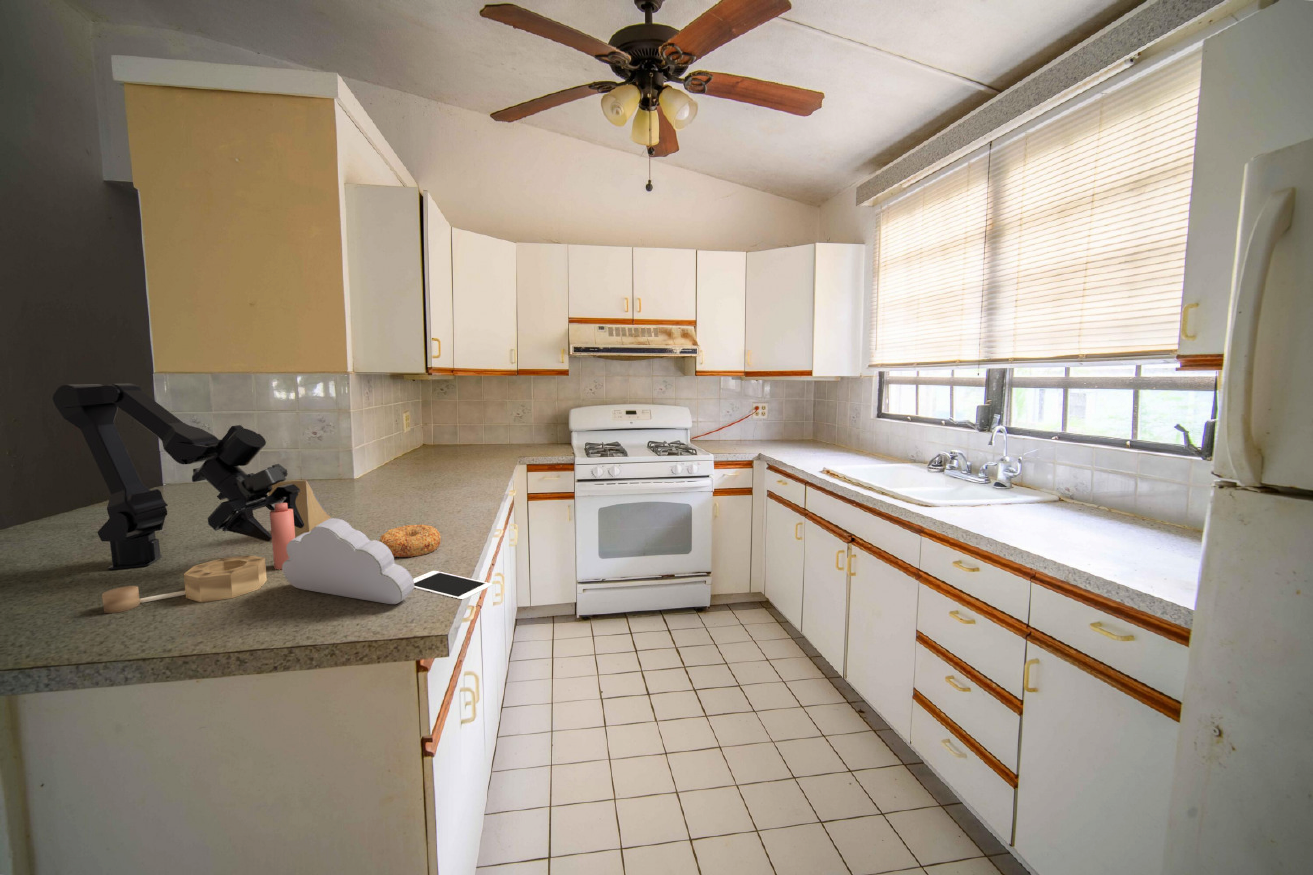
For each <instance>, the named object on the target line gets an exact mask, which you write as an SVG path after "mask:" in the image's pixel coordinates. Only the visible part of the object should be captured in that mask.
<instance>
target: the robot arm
mask: <svg viewBox="0 0 1313 875" xmlns="http://www.w3.org/2000/svg"><path fill="white" fill-rule="evenodd" d="M52 395H53V396H52V401H53V405H54V406H55V408H56V409H57V410H58V412H59V413H60V415H61V416H62V417H63V419H64V420H66V421H67V422H69V423H70V424H72V425H73V426H74V427H77V428H78V429H80V431H81V433H82V436H83V438H84V440H85V441H86V445H87V446H88V448H89V450H90V453H91V455H92V456H93V458H94V462H95V464H96V465H97V467H98V469H99V472H100V473H101V475H102V478H103V480H104V482H105V483H106V487H107V488H108V491H109V493H110V495H109V496H110V497H109V499H108V503H107V506H106V511H107V514H108V519H107V520H106V522H105V523H104V524H103V525H102V526H101V527H100V528H99V530H97V535H98V537H99V539H100V541H101V542H109V547H110V556H111V562H112V563H111V564H112V565H110V566H109V567H107V568H108V569H107V570H108V571H111V570H120V569H121V570H122V569H128V568H129V569H130V568H140V567H148V566H150V565H152V564H153V563H154V562H156V561H158V560H159V559H161V558H162V557H163V555H162V554H161V547H160V539H159V538H157V537H156V532H158V531H159V532H160V531H162V530H163V526H164V525H165V524H164V523H165V520H166V516H167V515H168V509H167V507H168V506H169V505H168V504H167V503H166V501H165V500H164V498H163V494H162V491H161V490H160V489H158V488H156V489H152V490H151V489H150V488H148V487H146V486H145V485H144V484H143V482H142V480H141V478H140V476H139V474H138V471H137V470H136V468H135V465H134V462H132V459H131V457H130V455H129V452H128V450H127V448H126V446H125V444H124V442H123V440H122V437H121V436H120V433H119V431H118V429H117V427H116V425H115V419H116V416H117V414H118V411H119V410H118V408H119V409H120V410H122V412H124V413H125V414H127V415H129V417H131V418H132V419H134V421H136V422H137V423H139V424H140V425H141V426H143V427H144V428H145V429H147V430H148V431H149V432H151V433H152V434H154V435H155V436H156V437H157V438H158V439H160V440H161V442H162V448H163V450H164V452H166V453H167V454H168V455H169V456H170V457H171V458H172V459H173V461H174V462H176V463H178V464H180V465H192V464H198V463H203V464H201V465H200V466H199V467H195V468H193V469H192V476H191V482H192V483H196V482H197V483H198V482H202V481H207V482H208V483H209V484H210V485H211V486H212V487H213V488H214V489H215V490H216V491H217V492H218V495H217V496H216V497H217V499H219V501H221V502H220V504H218V505H217V507H216V508H215V509H214V510H213V512H212V513H210V515H208V517H207V523H208V524H207V525H208V526H209V527H210V528H212V530H213V531H215V532H217V531H220V530H221V531H222V532H224V533H225V532H231V533H235V534H239V535H244V536H247V537H250V538H255V539H256V540H257V539H258V540H261V541H264V542H271V541H272V535H271V534H270V533H269V531H268V530H267V529H266V528H265V527H264V526H263V525H262V523H260V521H258V520H257V518H256V517H255V516H254V511H256V510H258V509H259V510H260V509H262V508H264V507H266V508H267V509H268V510H269V511H271V510H272V511H274V510H275V506H274V505H275V504H277V503H287V506H288V509H293V515H294V526H296V527H298V528H303V526H304V522H303V520H302V518H301V516H300V514H299V512H298V509H297V507H296V503H295V502H296V498H297V497H298V493H299V492H300V489H299V488H298V487H297V486H296V485H295V484H287V485H283V486H280V487H277V488H276V489H275V490H274V491H273V493H272V494H271V495H270V496H269V492H270V491H271V490H272V489H273V488H272V487H271V486H273V485H275V484H277V483H279V482H281V481H282V482H283V481H286V480H287V478H286V477H288V469H287V468H285V467H284V466H283V465H281V464H280V463H277V464H272V466H269V467H267V468H266V469H262V470H260V471H258V472H256V473H254V472H252V473H246V471H245V470H243V469H242V468H241V467H244V466H247V465H249V464H250V463H251V462H252V461H253V460H254V458H255V457H256V456H257V455H258V454H259V453H260V451H262V449H263V448H264V447H265V446H266V444H267V442H266V439H265V438H264V436H263V435H262V434H260V433H258V432H256V431H254V430H251V429H248V428H245V427H243V426H242V424H239V425H237V424H235V425H232V426H230V427H229V429H228V430H227V431H226V434H225V435H224V436H223V437H222V438H220V439H219V438H217V436H215V435H214V434H211V433H210V432H209V431H206V430H204V429H202V428H200V427H195V426H193V425H190V424H187V423H185V422H183V421H182V420H181V419H179V418H178V417H177V416H175V415H174V414H172V413H171V411H169V410H168V409H166V408H165V407H163V405H161V404H160V403H158V402H156V400H154V399H152V397H150V396H148V395H147V394H146V393H145V392H143V389H142V388H141V387H140V386H139V385H136V384H134V383H111V384H107V385H103V384H99V383H97V384H93V383H91V384H64V385H60V386H59V387H58V388H57V389H56V390H55V392H54V393H53V394H52ZM222 500H227V501H223V502H222Z"/></svg>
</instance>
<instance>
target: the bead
mask: <svg viewBox="0 0 1313 875" xmlns="http://www.w3.org/2000/svg"><path fill="white" fill-rule="evenodd" d="M266 567H267V566H266V558H265V557H260V556H256V555H250V554H247V555H240V556H231V557H230V556H229V557H220V558H217V559H214V560H211V561H207V562H204V563H200V564H196V565H194V566H193V565H192V567H191V568H189V570H187V571H186V572H184V573H183V582H184V590H185V593H186V595H185V599H188V600H191V601H195V602H199V603H205V602H214V601H220V600H229V599H234V598H238V597H240V596H243V595H246V594H248V593H252V592H254V591H257V590H259V589H261V588H262V587H263V585H265V583H266V582H267V581H268V579H267V568H266ZM261 586H262V587H261Z"/></svg>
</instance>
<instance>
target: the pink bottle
mask: <svg viewBox="0 0 1313 875" xmlns="http://www.w3.org/2000/svg"><path fill="white" fill-rule="evenodd" d="M274 506H275V510H274V511H271V510H270V511H269V520H270V533H271V534H270V535H271V536H272V539H271V545H272V556H273V566H274V570H276V569H277V571H278V569H282V565H283V563H284V562H285V561H286V560H288V559H289V556H288V554H287V550H286V547H287V544H288V543H289V542H290V541H291V540H293V539H294V538H295V528H294V515H293V509H288V506H287V503H277V504H275V505H274Z"/></svg>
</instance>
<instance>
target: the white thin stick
mask: <svg viewBox="0 0 1313 875" xmlns="http://www.w3.org/2000/svg"><path fill="white" fill-rule="evenodd" d="M180 596H186V593H185V589H184V590H179V591H174V592H169V593H163V594H158V595H153V596H152V595H151V596H148V597H147V596H146V597H141V598H139V599H140V604H143V603H148V602H154V601H161V600H164V599H170V598H176V597H180Z"/></svg>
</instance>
